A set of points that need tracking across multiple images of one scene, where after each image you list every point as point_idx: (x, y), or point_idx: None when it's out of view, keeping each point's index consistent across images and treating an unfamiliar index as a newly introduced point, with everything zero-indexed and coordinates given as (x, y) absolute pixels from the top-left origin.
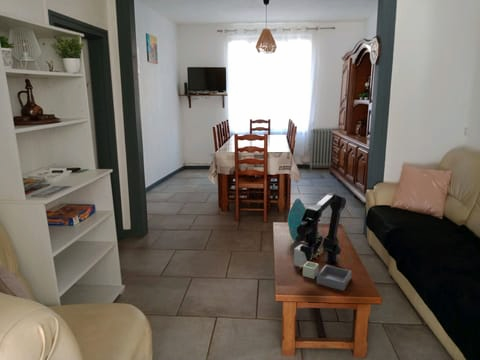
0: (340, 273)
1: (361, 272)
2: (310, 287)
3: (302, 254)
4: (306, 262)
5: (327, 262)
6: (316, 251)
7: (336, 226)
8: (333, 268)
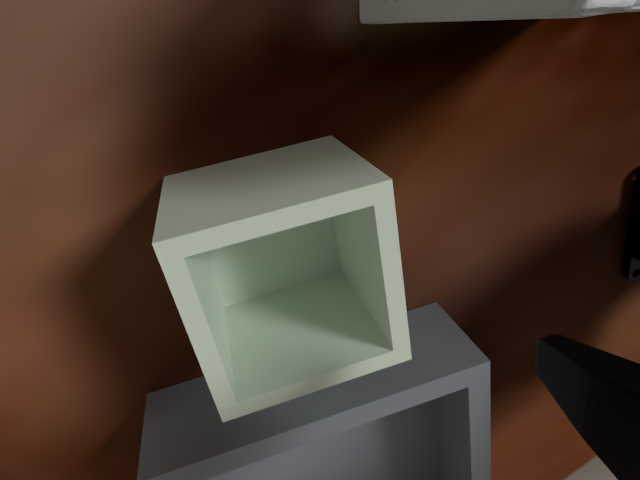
0: (446, 456)
1: (574, 463)
2: (6, 410)
3: (501, 14)
4: (330, 200)
5: (635, 203)
6: (609, 469)
7: None
8: (462, 435)
